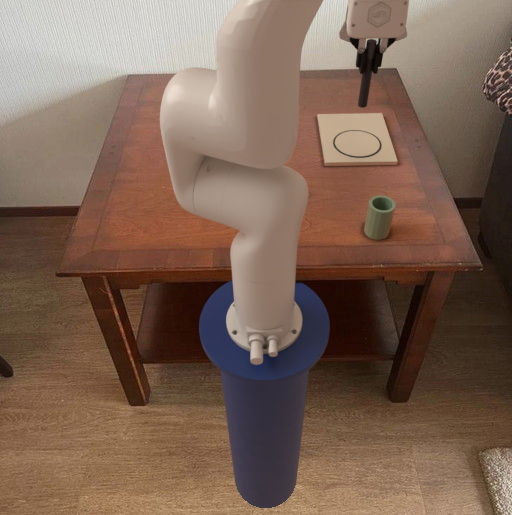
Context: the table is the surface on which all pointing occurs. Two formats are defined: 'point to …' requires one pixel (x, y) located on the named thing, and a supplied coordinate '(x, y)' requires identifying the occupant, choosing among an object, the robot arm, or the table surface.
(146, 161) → the table surface
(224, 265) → the table surface
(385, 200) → the pen cup
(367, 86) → the marker
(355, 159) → the drawing board
